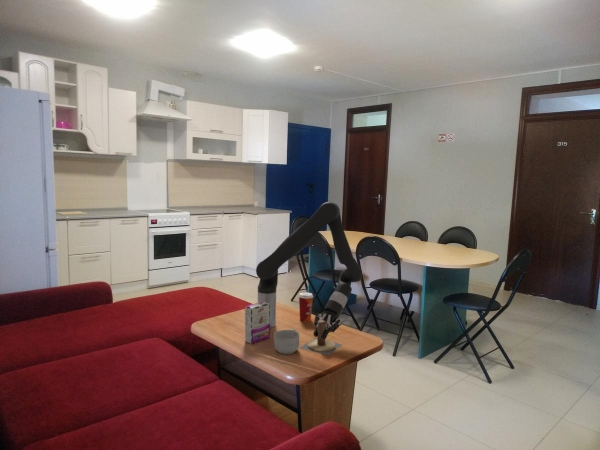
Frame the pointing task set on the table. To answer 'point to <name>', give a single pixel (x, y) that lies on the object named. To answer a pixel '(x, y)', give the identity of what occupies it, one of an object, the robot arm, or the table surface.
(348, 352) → the table surface
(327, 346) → the oak lid
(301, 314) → the paper cup
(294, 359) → the table surface
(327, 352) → the rubber mat
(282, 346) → the teacup
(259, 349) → the table surface
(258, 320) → the candy bar box
